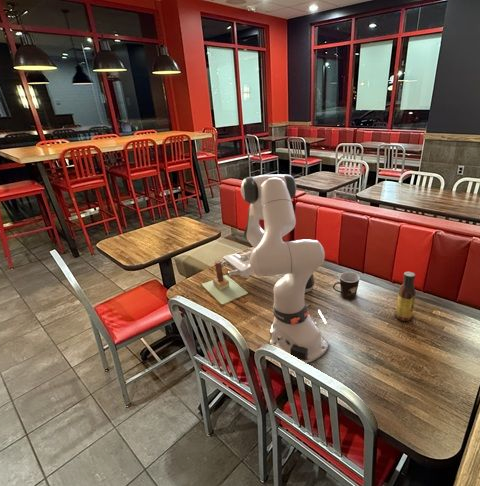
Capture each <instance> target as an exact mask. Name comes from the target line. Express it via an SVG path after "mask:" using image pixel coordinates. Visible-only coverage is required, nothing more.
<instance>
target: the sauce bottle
mask: <svg viewBox="0 0 480 486" xmlns="http://www.w3.org/2000/svg"><path fill="white" fill-rule="evenodd" d="M415 279H416V274H415V272H412V271H405V272H404V273H403V281H402V284H401V285H400V287H399V289H398V294H397V301H396V309H395V317H396V318H397V319H398V320H400V321H402V322H409V321H411V320H412V318H413V314H414V310H415V309H414V308H415V302H416V294H417V291H416V288H415Z"/></svg>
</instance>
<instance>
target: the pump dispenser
mask: <svg viewBox="0 0 480 486" xmlns="http://www.w3.org/2000/svg"><path fill="white" fill-rule="evenodd" d="M314 286H315V277H314V273H313V274H312V275H311V277H310V278H309V280H308V282H307V284H306V287H305V294H306V293H309V292H310V291H312V290H313V288H314Z"/></svg>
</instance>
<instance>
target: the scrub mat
mask: <svg viewBox="0 0 480 486" xmlns="http://www.w3.org/2000/svg"><path fill="white" fill-rule="evenodd" d="M223 277H224V278H225V279H226V280H228V281H229V287H227V288H225V289H223V290H221V291H220V290H219V289H218V288H217V287H216V286H214V285H213V279H212V280H211V279H210V280H209V281H206V282H203V283H201V286H202V287H203V288H204V289H205V290H206V291H207V292H208V293H209V294H210V295H211V296H212V297H213V298H214V299H215V300H216V301H217V302H218V303H219V304H220V305H225V304H227V303H229V302H231V301H234V300H236V299H238V298H241V297H243V296H246V295H247V294H249V292H248V291H247V290H246V289H244V288H243V287H242V286H240V285H239V284H238V283H237V282H236V281H234V279H232V277H230V276H229V275H228V274H225V275H224V274H223Z"/></svg>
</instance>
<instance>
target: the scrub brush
mask: <svg viewBox="0 0 480 486" xmlns="http://www.w3.org/2000/svg"><path fill="white" fill-rule="evenodd" d="M221 263H222V261H221V260H216V261H215V262H214V266H215V271H216V272H215V274H216V277H214V278H213V279H212V280H213V285H214V286H216V287H217V288H218V289H219V290H220V291H221V290H223V289H225V288H227V287H229V281H228V280H226V279H225V278H224V277H223V276H224V273H223V268H222V266H221Z"/></svg>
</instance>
